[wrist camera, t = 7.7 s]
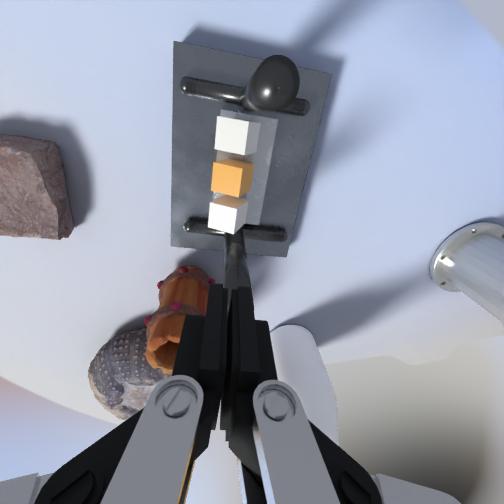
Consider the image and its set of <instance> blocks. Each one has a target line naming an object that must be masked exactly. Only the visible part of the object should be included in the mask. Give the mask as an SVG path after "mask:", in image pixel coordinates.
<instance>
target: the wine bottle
mask: <svg viewBox="0 0 504 504" xmlns="http://www.w3.org/2000/svg"><path fill="white" fill-rule="evenodd" d="M270 337H271V343H272V348H273V354H274V360H275V366H276V372H277V377H278V380H279V381H281V382H284V383H286V384H287V385H289V386H290V387H292V389H293V390H294V391H295V392H296V393H297V395H298V397H299V399H300V401H301V403H302V406H303V409H304V411H305V414H306V416H307V419H308V420H309V421H311V422H312V423H313V424H314V425H315V426H316V427H317V428H318V429H320V430H321V431H322V432H323V433H324V434H325V435H326V436H328V437H329V438H330V439H331V440H332V441H333V442H334V443H336V444H337V445H338V446H339V438H338V415H337V402H336V395H335V392H334V389H333V387H332V384H331V381H330V379H329V376H328V374H327V371H326V369H325V366H324V363H323V361H322V358H321V356H320V353H319V350H318V348H317V345H316V343H315V340H314V338H313V336H312V334H311V333H310V332H309V331H308V330H307V329H305V328H304V327H301V326H298V325H285V326H281V327H278V328H276V329H275V330H273V331H272V332H271V333H270Z"/></svg>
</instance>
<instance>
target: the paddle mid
mask: <svg viewBox="0 0 504 504" xmlns="http://www.w3.org/2000/svg"><path fill="white" fill-rule="evenodd" d="M253 170H254V164H252V163H247V162H242V161H237V160H233V159H225V160H221V161H217V162H213V172H212V184H211V191H214V192H218V193H222V194H226V195H230V196H234V197H238V198H239V197H240V196H242V195H243V194H245V193H246V192H248V191H249V190H251V183H252V177H253Z"/></svg>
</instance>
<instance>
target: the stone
mask: <svg viewBox="0 0 504 504" xmlns="http://www.w3.org/2000/svg"><path fill="white" fill-rule="evenodd" d="M73 229H74V223H73V219H72V214H71V209H70V204H69V199H68V193H67V189H66V185H65V175H64V170H63V164H62V161H61V158H60V156H59V151H58V147H57V145H56V144H55V143H54V142H51V141H47V140H45V141H43V140H36V139H31V138H27V137H21V136H10V135H8V136H6V135H1V134H0V235H4V236H12V237H29V238H30V237H34V238H48V239H56V240H61V238H63V237H64V238H68V237H69V235H70V234H71V233H72V231H73Z"/></svg>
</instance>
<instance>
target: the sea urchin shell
mask: <svg viewBox="0 0 504 504" xmlns="http://www.w3.org/2000/svg"><path fill="white" fill-rule="evenodd" d="M146 331H147V329H145V328H144V329H141V330H138V331H132V332H127V333H124V334H121V335H119V336H117V337H116V338H113V339H112V340H110V341H108V342H107V343H106V344H105V345H103V347H102V348H101V349H100V350H99V352H98V353H97V354H96V356H95V358H94V359H93V361H92V362H91V363H90V367H89V370H88V372H89V374H88V378H89V382H90V386H91V389H92V390H93V392H94V395H95V398H96V399H97V400H98V402H99V403H101V405H102V406H103V407H104V408H105V409H106V410H107V411H109V412H111V413H112V414H114V415H115V416H116V417H117V418H119V419H123V420H127V419H129V418H130V417H132V416H133V415H134V414H136V413H137V412H139V411H140V410H141V409H143V408H144V407H145V405H146V403H147V401H148V399H149V397H150V395H151V393H152V391H153V390H154V388H155V386H156V385H158V384H159V383H160V382H161V381H162V380H164V379H166V378H168V377H170V376H172V374H165V373H163V372H162V370H161V368H156V369H155V368H153V367H152V366H151V365H150V364H149V363H148V361H147V359H146V355H145V353H146V350H147V342H148V340H147V335H146Z"/></svg>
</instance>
